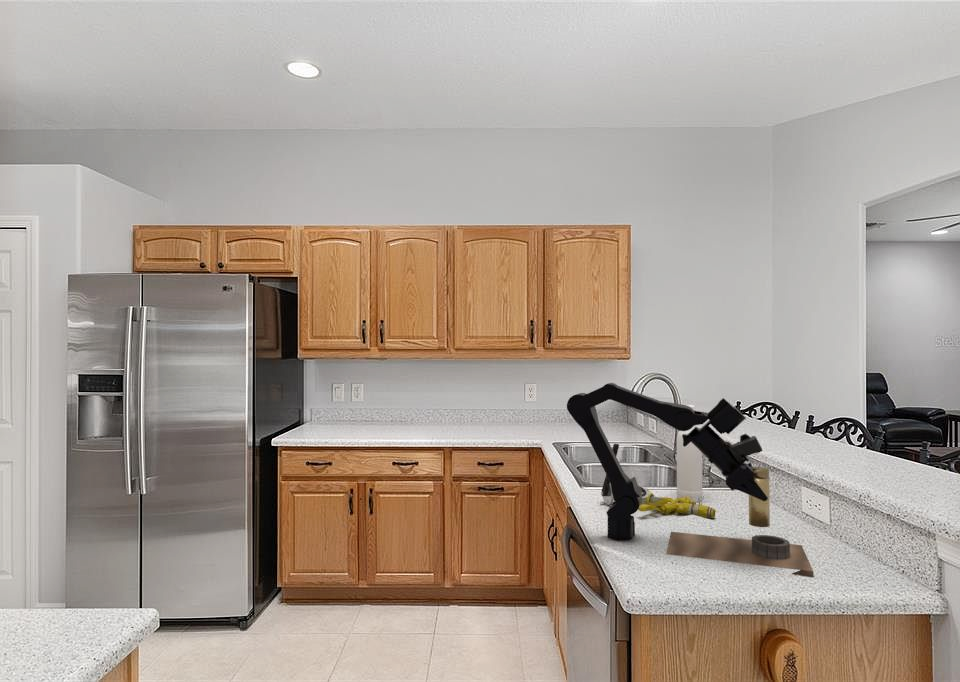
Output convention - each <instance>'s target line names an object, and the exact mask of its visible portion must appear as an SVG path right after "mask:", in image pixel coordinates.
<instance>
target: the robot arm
mask: <svg viewBox="0 0 960 682" xmlns="http://www.w3.org/2000/svg"><path fill="white" fill-rule="evenodd" d="M608 400H610V401H613V402H616V403H619V404H621V405H625V406H627V407H630V408H632V409H635V410H638V411H641V412H643V413H645V414H648V415H652V416H654V417H655V418H657V419H659V420H660V421H662V422H663V423H665V424H666V425H668V426H670V427H672V428H673V429H675V430H677V431H678V432H679V431H687V430H690V429H691V428H692V427H693V426H694V425H695V428H694V429H693V430H692V431H691V432H690V433H689V434H683V435H682V437H683V446H684V447H686V446H687V445H688V444H689V443H690V442H692V443H693V444H694V445H695V446H696V447H697V448H698V449H699V450H700V451H701V452H702V455H704V456H705V457H706V458H707V459H708V462H709V463H710V464H713V465H714V466H715V467H716V468H717V469H718V470H719V471H720V472H721V475H723V477H725V485H726V486H727V487H728V488H729V489H730V490H731V491H734V490H737V491H739V492H742V493H743V494H746V495H748V496H749V495H751V496H753V497H756V498H758V499H760V500H762V501H766V500H767V499H768V497H767V496H766V495H765V493H764V492H763V490H762V489H761V488H760V486H759V485H758V484H757V482H756V481H755V480H754V470H753V469H751V468H750V467H753V466H752V462H749V461H750V458H749V456H751V455H754V454H759V453H761V452H763V448H762V446H761V444H760V442H759V440H758V438H757V437H756V435H751V436H750V435H748V434H747V433H744V434H740V436H739V441H737V442H736V443H734V444H733V443H730V442H729V441H727V440H724V439H723V438H722V437H721V436H720V435H719V434H721V435H722V434H725V433H726V434H727V435H730V433H732V432H733V431H734V430H735V429H736V428H738V426H740V424H742V422H744V421H745V420H746V419H747V417H746V416H745V415H744V414H743V413H742V412H741V411H740V410H739V409H738V408H736V406H733V405H732V404H731V403H730V402H729V401H727V400H726V399H725V398H724V397H723V398H722V399H720V400H719V401H718V403H717V404H716V405H715V406H714V407H712V408H711V410H709V412H705V411H699V410H696V411H694V410H693V409H692V408H691V407H689V406H687V405H688V404H680V403H677V402H676V403H675V402H669V401H662V400H658V399H656V398H653V397H650V396H648V395H645V394H641V393H639V392H638V391H634V390H631V389H628V388H625V387H622V386H619V385H618V384H617V383H614V382H609V383H606V384H604V385H603V386H601V387H598V388H596V389H595V390H593V391H590V392H588V393H585V392H580V393H579V392H578V393H577V394H574V395H573V394H572V396H570V397H569V399H568V401H567V403H566V410H567V412H568V413H569V415H570V416H571V417H572V419H573V420H574V421H575V423H576V424H577V425H578V426H579V427H581V429H582V431H584V433H585V435H586V437H587V438H588V439H587V440H588V442H589V443H590V444H591V446H592V449H593V450H594V452H595V454H596V456H597V458H598V461H599V462H600V463H599V464H601V467H602V468H603V470H604V472H605V476H606V475H607V477H608V479H609V481H610V484H611V489H612V494H613V498H614V501H613V503H612V504H610V505H609V507H608V509H607V511H606V515H607V539H611V540H613V541H615V542H619V541H621V542H623V541H624V542H628V541H631V540H633V538H634V537H635V536H636V528H635V527H636V524H635V516H634V514H636V513H637V512H638V511H639V510H638V509H639V507H640V504H641V501H642V495H641V493H642V489H640V487H639V486H640V485H639V484H638V481H637V478H636V477H635V476H633V477H632V478H630V477H629V476H628V475H627V474H626V473H625V472H624V471H625V470H623V468H622V466H621V464H620V462H619V459H618V458H617V456H615V454H614V452H613V450H612V449H613V447H612V445H611V444H610V442H609V440H608V438H607V436H606V434H605V432H604V430H603V429H602V426H601V424H600V421H599V416H598V412H597V409H596V408H597V407H596V406H598V405H600V404H603V403H605V402H607V401H608ZM701 425H702V426H701ZM710 425H711V426H712V427H713V428H712V427H710ZM697 426H701V427H700V428H699V427H697ZM714 429H715V430H716V431H715V430H714ZM718 433H719V434H718ZM746 462H749V463H746ZM638 485H639V486H638Z"/></svg>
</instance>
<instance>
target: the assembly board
mask: <svg viewBox="0 0 960 682" xmlns="http://www.w3.org/2000/svg"><path fill="white" fill-rule="evenodd" d="M668 540H669V541H668V545H667V549H666V553H665V554H666V555H671V556H676V557H677V556H678V557H687V558H695V559H697V558H698V559H703V560H713V561H721V562H728V563H729V562H730V563H739V564H746V565H755V566H762V567H772V568H780V569H781V568H782V569H790V570H798V571H795V572H792V573H791V575H793V574H794V575H795V576H804V577H811V578H812V577H813V578H814V570H813V567H812V565H811V563H810V561H809V559H808V557H807V554H806V552H805V550H804V548H803V545H801V544H793V543H792V544H791V543H790V541H789V540H788V539H786V538H783V537H779V536H776V535H775V536H774V535H769V534H756V535H753V536H751V539H746V538H737V537H736V538H735V537H727V536H725V537H724V536H719V535H718V536H716V535H708V534H697V533H689V532H688V533H687V532H680V531H679V532H678V531H677V532H675V531H670V534H669V539H668Z"/></svg>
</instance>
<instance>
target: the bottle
mask: <svg viewBox="0 0 960 682" xmlns="http://www.w3.org/2000/svg"><path fill="white" fill-rule="evenodd" d="M686 405H687V406H689V407H691V408H692V409H693V410H694V411H697V409H696V406H695V405H694V404H686ZM695 427H696V425H694V426H693V427H692V428H691V429H690V430H687V431H679V430H678V433H677V435H676V498H686V496H688V497H689V498H690V500H691V501H694V502H696V503H699V501H698V498H699V499H700V500H701V502H703V495H704V493H703V453H702V452H701V451H700V450H699V449H698V448H697V447H696V446H695V445H694V444H693V443H692V442H690V443H689V444H688V445H687V446H686V447H684V446H683V437H682V435H683V434H689V433H690V432H691V431H692V430H693V429H694V428H695Z"/></svg>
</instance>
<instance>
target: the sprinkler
mask: <svg viewBox="0 0 960 682" xmlns="http://www.w3.org/2000/svg"><path fill="white" fill-rule="evenodd" d="M698 501H699V502H698V504H697V502H694V501H691V500H690V498H689V497H688V496H686V498H677V497H676V498H675V499H674V498H672V497H665V496H655V494H654V493H653V492H652V493H650V494H649V495H648V497H647V499H646V504H642V505H640V506H639V509H638V510H637V511H639V512H650V511H658V512H659V513H660V514H664V515H665V516H667V515H677V516H678V515H680V514H681V513H682V514H687V515H692V516H696V517H700V518H703V519H710V520H711V519H714V518H715V517H716V513H717V512H716V511H717V510H716V509H715V508H714V507H711V506H709V505H704V504H703V503H704V502H703V501H701V500H700V499H699V498H698Z"/></svg>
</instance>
